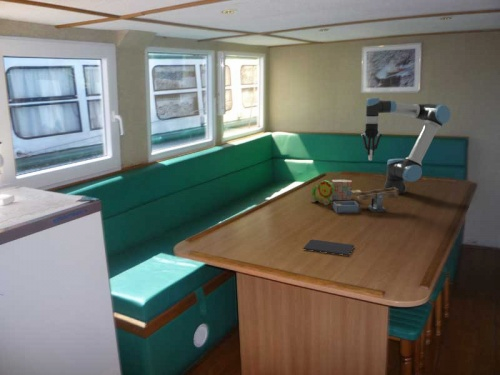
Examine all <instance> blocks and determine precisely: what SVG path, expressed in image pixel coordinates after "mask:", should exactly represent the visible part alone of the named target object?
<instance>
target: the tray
mask: <svg viewBox="0 0 500 375" xmlns="http://www.w3.org/2000/svg"><path fill="white" fill-rule="evenodd" d="M337 204H341V205H339V206H338V205H337ZM360 207H361V206H360V204H359V203H358V202H357V201H356V200H340V201H339V200H333V201H332V209H333V211H334V212H335V214H352V213H353V214H357V213H360V209H361V208H360Z"/></svg>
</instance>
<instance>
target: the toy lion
mask: <svg viewBox="0 0 500 375" xmlns="http://www.w3.org/2000/svg"><path fill="white" fill-rule="evenodd" d="M316 190H317V191H318V190H319V192H320V194H319V195H318V194H316ZM333 194H334V186H333V184H332V182H331V181H329V180H326V179H325V180H321V181H320V182H319V183H318V185H315V186H314V187H313V188H312V190H311V197H310V201H311V203H315V202H318V201H321V202H322V203H323V205H324V206H328V205H331V204H333V200H332V199H331V198H330V197H331V196H332V195H333Z"/></svg>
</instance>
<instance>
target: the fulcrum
mask: <svg viewBox="0 0 500 375" xmlns="http://www.w3.org/2000/svg"><path fill="white" fill-rule="evenodd" d="M373 190H374V189H371V191H373ZM383 205H384V197H383V193H377V198H373V199H370V204H369V205H367V209H368V210H369V211H371V212H373V213H382V212H386V211H387V210H386V208H385V207H384V206H383Z"/></svg>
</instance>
